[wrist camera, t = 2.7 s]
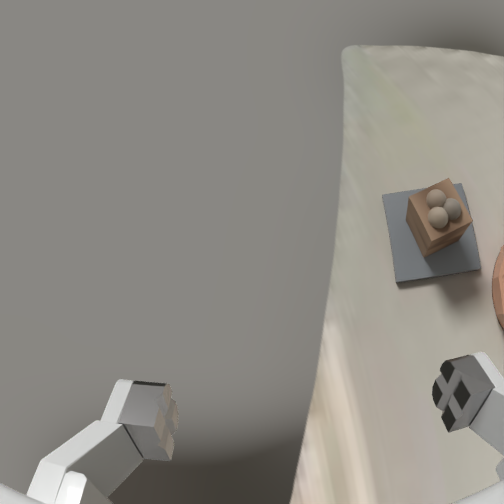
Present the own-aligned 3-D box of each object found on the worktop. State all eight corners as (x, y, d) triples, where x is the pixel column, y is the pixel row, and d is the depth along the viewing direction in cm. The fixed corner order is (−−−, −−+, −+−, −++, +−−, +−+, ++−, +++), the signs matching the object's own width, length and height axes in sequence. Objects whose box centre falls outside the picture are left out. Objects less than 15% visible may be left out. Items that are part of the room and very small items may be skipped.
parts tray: (460, 186, 38) (461, 183, 37) (478, 269, 34) (480, 268, 34) (382, 197, 42) (382, 194, 41) (395, 282, 39) (396, 281, 38)
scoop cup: (440, 203, 38) (450, 172, 29) (458, 240, 36) (475, 216, 27) (405, 219, 39) (409, 191, 31) (423, 257, 37) (433, 237, 29)
